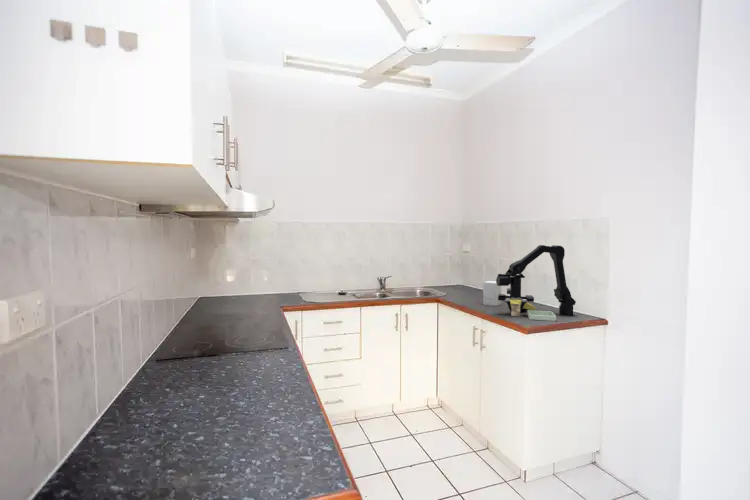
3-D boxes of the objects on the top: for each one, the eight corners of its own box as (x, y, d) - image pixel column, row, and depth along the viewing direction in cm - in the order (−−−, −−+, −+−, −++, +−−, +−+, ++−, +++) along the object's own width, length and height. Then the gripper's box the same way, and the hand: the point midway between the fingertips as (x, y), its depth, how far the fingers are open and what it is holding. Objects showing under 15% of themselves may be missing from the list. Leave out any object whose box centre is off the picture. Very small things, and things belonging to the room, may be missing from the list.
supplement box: (501, 304, 241) (501, 281, 241) (496, 306, 235) (496, 283, 234) (488, 302, 247) (488, 280, 247) (482, 304, 240) (482, 281, 240)
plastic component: (537, 308, 217) (522, 301, 216) (531, 319, 217) (517, 312, 216) (522, 299, 236) (509, 293, 235) (517, 310, 237) (503, 303, 236)
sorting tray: (552, 315, 207) (552, 311, 207) (556, 321, 195) (556, 316, 194) (527, 314, 211) (527, 310, 211) (529, 319, 198) (529, 315, 198)
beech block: (519, 314, 211) (519, 304, 211) (520, 316, 207) (520, 305, 207) (510, 314, 213) (511, 303, 212) (511, 315, 208) (511, 305, 208)
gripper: (531, 284, 214) (531, 310, 215) (497, 283, 219) (497, 309, 220) (534, 287, 203) (533, 315, 204) (498, 285, 209) (498, 313, 209)
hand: (515, 313), depth 210 cm, fingers closed on beech block, 4 cm apart
